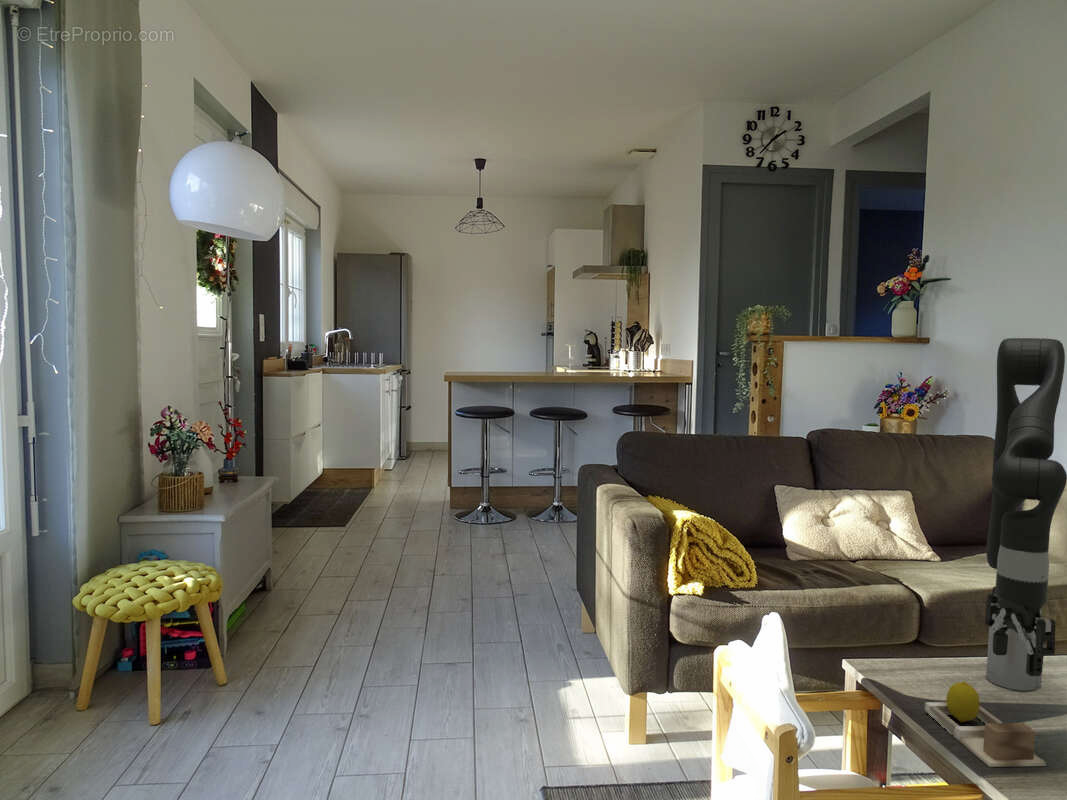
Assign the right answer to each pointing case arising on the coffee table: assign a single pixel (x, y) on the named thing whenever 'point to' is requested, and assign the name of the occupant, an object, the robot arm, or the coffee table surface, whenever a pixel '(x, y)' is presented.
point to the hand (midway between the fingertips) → (1015, 664)
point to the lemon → (963, 701)
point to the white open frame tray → (991, 738)
